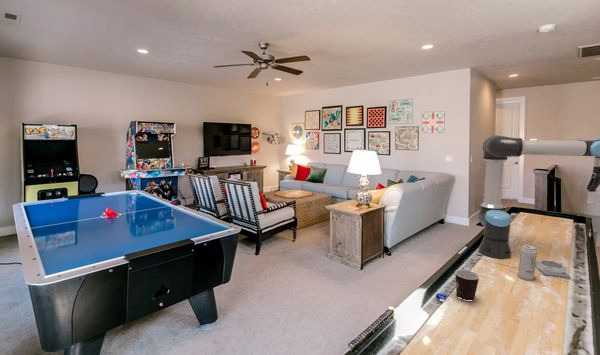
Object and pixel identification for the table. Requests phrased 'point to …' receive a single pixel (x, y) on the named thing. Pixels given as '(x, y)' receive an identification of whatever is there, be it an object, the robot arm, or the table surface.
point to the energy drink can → (527, 262)
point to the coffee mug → (466, 284)
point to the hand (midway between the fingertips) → (597, 206)
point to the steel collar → (558, 270)
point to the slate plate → (553, 273)
